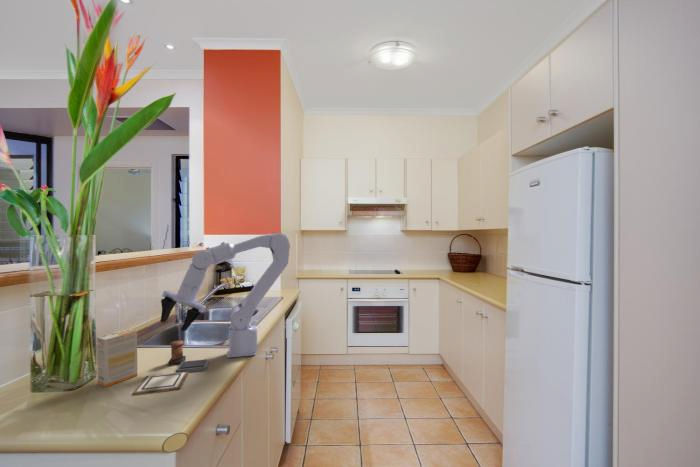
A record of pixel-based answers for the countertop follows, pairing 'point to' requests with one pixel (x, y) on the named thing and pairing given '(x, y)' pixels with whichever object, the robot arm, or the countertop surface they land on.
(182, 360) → the stamp
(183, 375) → the board
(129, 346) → the supplement box
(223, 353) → the countertop surface
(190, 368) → the ink pad
